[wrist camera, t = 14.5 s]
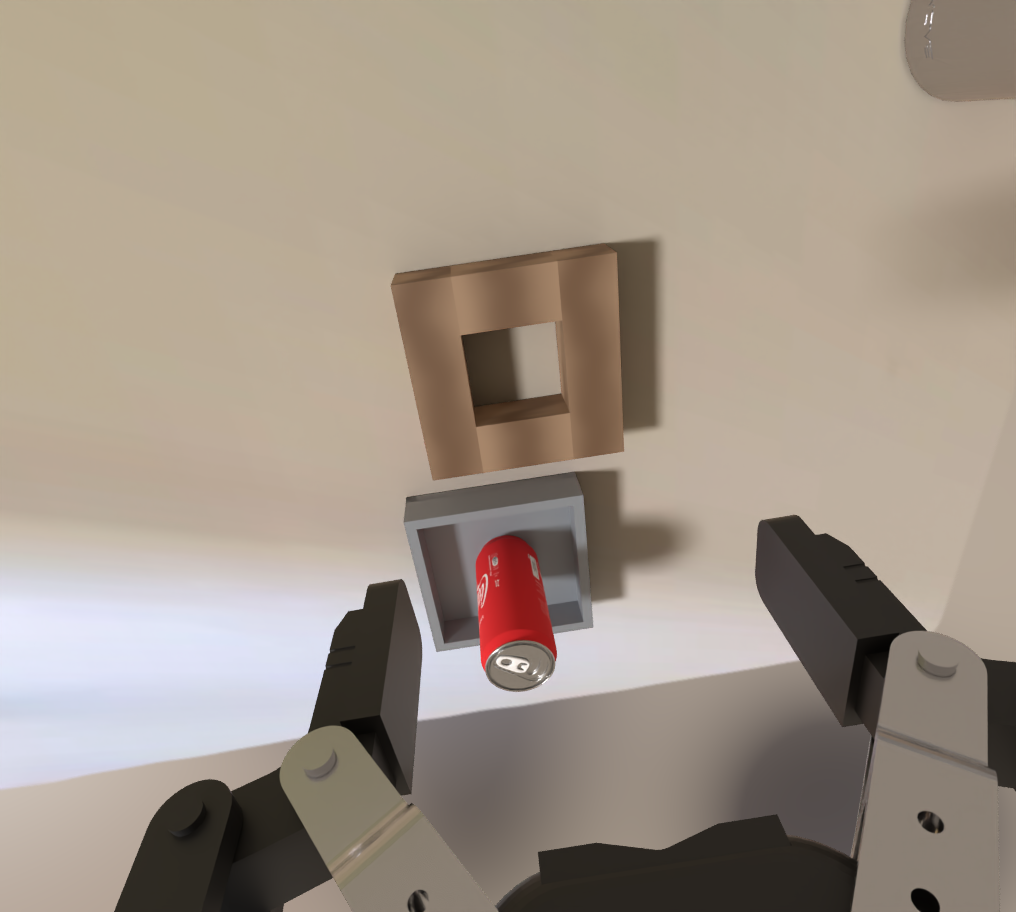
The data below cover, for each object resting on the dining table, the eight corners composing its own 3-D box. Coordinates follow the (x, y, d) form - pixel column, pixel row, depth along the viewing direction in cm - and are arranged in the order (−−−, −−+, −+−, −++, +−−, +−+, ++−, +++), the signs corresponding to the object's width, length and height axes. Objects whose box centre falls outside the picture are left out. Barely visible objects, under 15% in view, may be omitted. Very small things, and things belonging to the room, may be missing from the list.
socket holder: (604, 243, 40) (617, 252, 37) (612, 430, 47) (623, 451, 44) (395, 273, 40) (390, 285, 37) (434, 457, 46) (432, 480, 43)
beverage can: (520, 586, 52) (538, 701, 42) (465, 570, 51) (469, 684, 40) (546, 541, 50) (572, 650, 40) (489, 523, 49) (500, 630, 38)
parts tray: (574, 471, 48) (583, 495, 45) (585, 599, 55) (593, 627, 52) (406, 497, 48) (403, 522, 45) (437, 622, 54) (436, 651, 51)
